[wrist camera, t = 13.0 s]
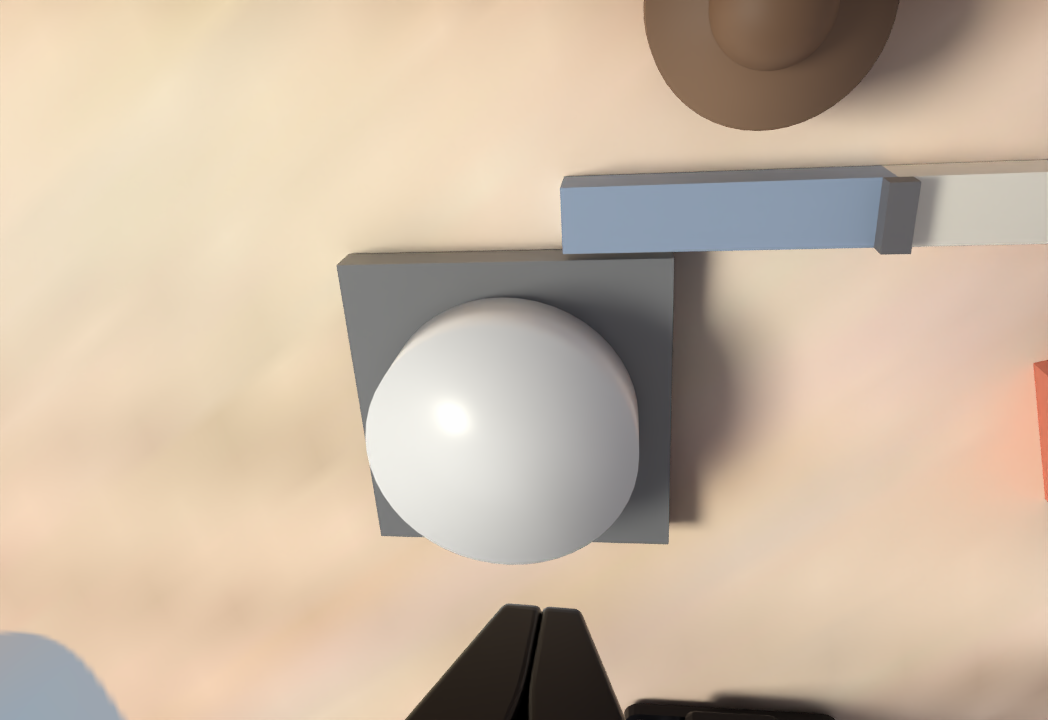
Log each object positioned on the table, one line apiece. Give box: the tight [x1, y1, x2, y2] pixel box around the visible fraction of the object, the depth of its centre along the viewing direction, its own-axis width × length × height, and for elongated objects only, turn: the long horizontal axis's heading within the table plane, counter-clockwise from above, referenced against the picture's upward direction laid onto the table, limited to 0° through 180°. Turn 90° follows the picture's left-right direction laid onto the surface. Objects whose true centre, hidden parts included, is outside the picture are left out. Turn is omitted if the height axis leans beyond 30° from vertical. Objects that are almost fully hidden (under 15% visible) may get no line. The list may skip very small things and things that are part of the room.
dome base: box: [337, 249, 674, 544], centre depth 20 cm, size 8×8×1 cm
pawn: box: [644, 0, 899, 131], centre depth 15 cm, size 4×4×4 cm
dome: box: [365, 297, 639, 565], centre depth 19 cm, size 6×6×2 cm
